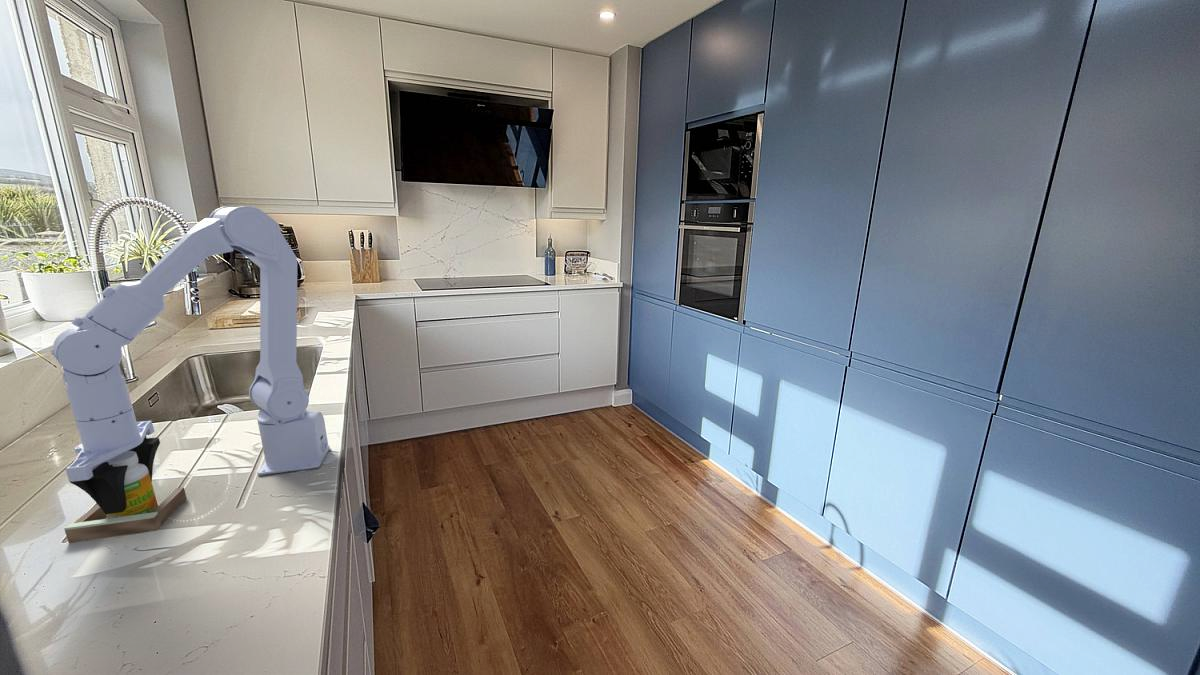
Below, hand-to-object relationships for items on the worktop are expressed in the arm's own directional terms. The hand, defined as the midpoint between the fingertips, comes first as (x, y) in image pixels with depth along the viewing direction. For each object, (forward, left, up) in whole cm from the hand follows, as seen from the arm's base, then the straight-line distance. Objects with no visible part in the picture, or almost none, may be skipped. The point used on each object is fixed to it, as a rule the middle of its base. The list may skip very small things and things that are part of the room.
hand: (129, 499), depth 71 cm
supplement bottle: (0, 0, -3) cm, 3 cm away
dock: (0, 0, -3) cm, 3 cm away
